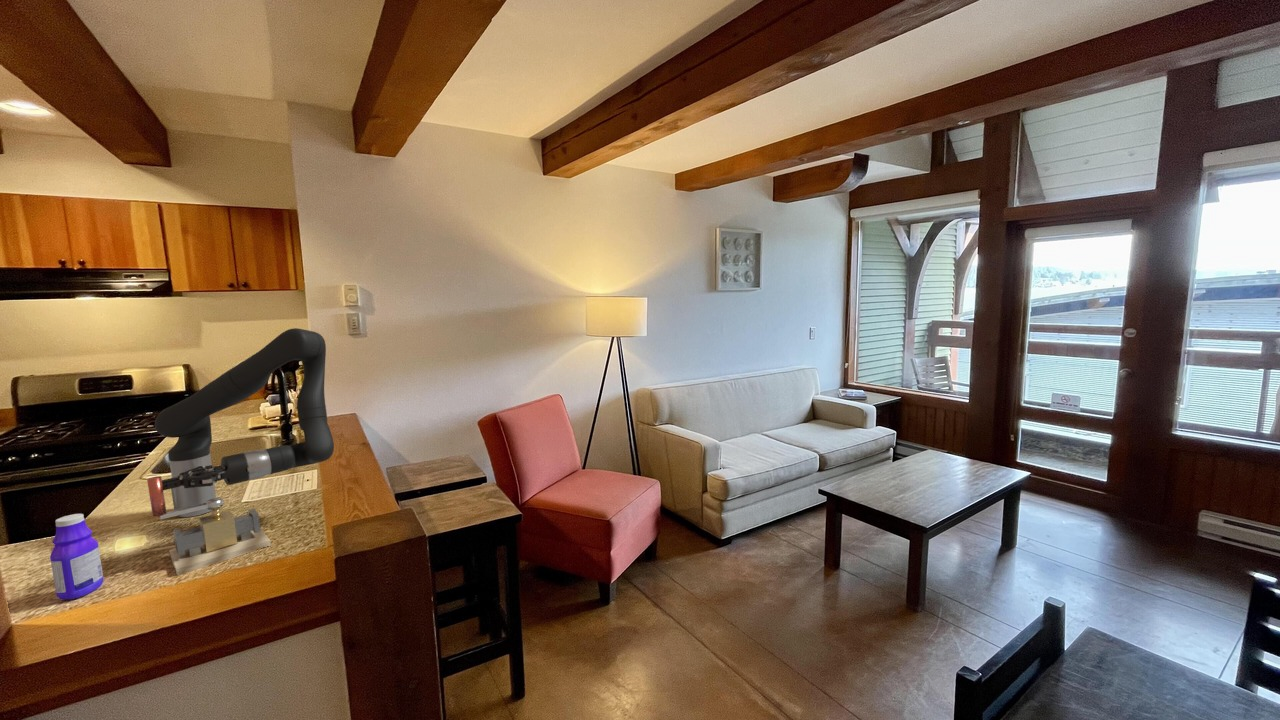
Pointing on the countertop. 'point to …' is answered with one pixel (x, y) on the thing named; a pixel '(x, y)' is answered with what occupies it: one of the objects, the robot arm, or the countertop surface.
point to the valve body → (216, 532)
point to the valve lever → (160, 509)
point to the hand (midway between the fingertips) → (157, 486)
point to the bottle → (75, 558)
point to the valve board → (217, 553)
